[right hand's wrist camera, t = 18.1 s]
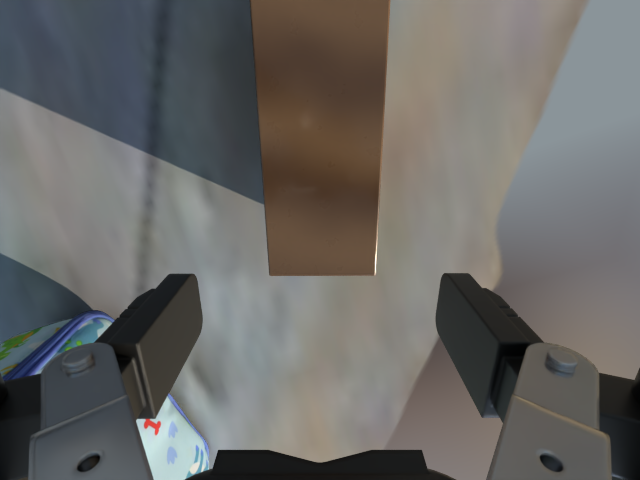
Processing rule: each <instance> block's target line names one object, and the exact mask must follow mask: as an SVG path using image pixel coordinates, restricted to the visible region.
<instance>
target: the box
mask: <svg viewBox="0 0 640 480" xmlns="http://www.w3.org/2000/svg"><path fill="white" fill-rule="evenodd" d="M250 12H251V26H252V40H253V54H254V68H255V81H256V95H257V109H258V123H259V137H260V151H261V165H262V179H263V193H264V207H265V221H266V235H267V249H268V263H269V275H270V276H374V275H375V274H376V257H377V239H378V220H379V201H380V183H381V164H382V145H383V127H384V108H385V89H386V71H387V52H388V33H389V15H390V0H250Z"/></svg>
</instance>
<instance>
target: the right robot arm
mask: <svg viewBox="0 0 640 480" xmlns="http://www.w3.org/2000/svg"><path fill="white" fill-rule="evenodd" d="M202 322H203V317H202V309H201V302H200V295H199V289H198V282H197V278H196V276H195V275H194V274H169V275H168V276H167V277H166V278H165V279H164V280H163V281H162V282H161V283H160V284H159V286H158V287H157V288H156V289H151V290H149V291H147V292H145V293H144V294H142V295H140V296H139V297H137V298H136V299H135V300H134V301H133V302H132V303H131V304H130V305H129V306H128V309H125V311H124V312H123V313H122V314H121V315H120V317H119V318H117V319H116V320H115V321H114V322H113V323H112V324H111V325H110V326H109V327H108V328H107V329H106V330H105V331H104V332H103V333H102V334H101V335H100V337H99V338H98V339H97V340H96V341H95V342H94V343H88V344H83V345H80V346H76V347H74V348H71V349H69V350H67V351H64V352H63V353H61V354H59V355H57V356H56V357H54V358H53V359H52V360H51V361H49V362H48V363H47V364H46V366H45V367H44V368H43V370H42V372H41V373H40V374H35V375H31V376H26V377H21V378H16V379H11V380H6V381H4V380H3V378H2V375H1V373H0V480H154V479H153V475H152V472H151V469H150V465H149V462H148V459H147V455H146V452H145V449H144V446H143V442H142V439H141V436H140V432H139V429H138V426H137V422H136V420H137V419H156V417H157V415H158V413H159V411H160V409H161V407H162V405H163V403H164V402H165V400H166V398H167V396H168V394H169V392H170V390H171V388H172V386H173V384H174V383H175V381H176V379H177V377H178V375H179V373H180V371H181V369H182V367H183V366H184V364H185V362H186V360H187V358H188V356H189V354H190V352H191V350H192V348H193V347H194V345H195V343H196V341H197V339H198V337H199V335H200V333H201V329H202ZM436 327H437V331H438V334H439V336H440V338H441V340H442V342H443V344H444V346H445V348H446V350H447V351H448V353H449V355H450V357H451V359H452V361H453V363H454V365H455V367H456V369H457V371H458V373H459V374H460V376H461V378H462V380H463V382H464V384H465V386H466V388H467V390H468V392H469V394H470V396H471V397H472V399H473V401H474V403H475V405H476V407H477V409H478V411H479V413H480V415H481V417H482V418H500V419H501V420H502V422H503V426H502V429H501V432H500V436H499V439H498V442H497V446H496V449H495V452H494V455H493V459H492V462H491V465H490V469H489V472H488V475H487V479H486V480H640V368H639V371H638V373H637V375H636V378H635V380H631V379H626V378H622V377H617V376H612V375H607V374H602V373H599V372H598V370H597V368H596V367H595V366H594V364H593V363H592V362H591V361H589V360H588V359H587V358H586V357H584V356H583V355H581V354H579V353H577V352H575V351H573V350H571V349H569V348H566V347H564V346H560V345H557V344H552V343H544V342H543V341H542V340H541V339H540V338H539V337H538V335H537V334H536V333H535V332H534V331H533V330H532V329H531V328H530V327H529V326H528V325H527V324H526V323H525V322H524V321H523V320H522V319H521V318H520V317H518V315H517V313H516V312H515V311H514V310H513V309H510V306H509V305H508V304H507V303H506V302H505V301H504V300H503V299H502V298H501V297H500V296H499V295H497V294H495V293H493V292H492V291H490V290H488V289H486V288H482V287H481V286H480V285H479V284H478V283H477V282H476V281H475V280H474V279H473V277H472V276H471V275H470V274H468V273H444V274H443V275H442V278H441V282H440V289H439V296H438V303H437V310H436ZM184 480H456V479H454V478H451V477H449V476H448V475H445V474H442V473H440V472H437V471H434V470H431V469H427V466H426V463H425V459H424V456H423V453H422V450H370V451H366V452H362V453H358V454H354V455H351V456H347V457H343V458H339V459H335V460H331V461H328V462H323V463H317V462H312V461H309V460H305V459H301V458H297V457H293V456H289V455H286V454H282V453H278V452H274V451H270V450H218V453H217V456H216V459H215V463H214V466H213V469H209V470H206V471H203V472H200V473H198V474H195V475H192V476H190V477H188V478H186V479H184Z"/></svg>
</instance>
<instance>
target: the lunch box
mask: <svg viewBox="0 0 640 480" xmlns="http://www.w3.org/2000/svg"><path fill="white" fill-rule="evenodd" d="M114 321H115V320H114V319H113V318H111V317H110V316H109V315H107V314H106V313H104V312H102V311H98V310H93V311H87V312H84V313H81V314H79V315H77V316H76V317H74V318H72V319H68V320H64V321H60V322H57V323H54V324H50V325H47V326H44V327H40V328H37V329H35V330H31V331H27V332H23V333H20V334H18V335H16V336H13V337H12V338H10V339H8V340H7V341H5V342H3V343H2V344H1V345H0V373H1V375H2V378H3V380H4V381H6V380H11V379H16V378H21V377H26V376H31V375H35V374H40V373H41V372H42V370H43V368H44V367H45V366H46V364H47V363H48V362H49V361H51V360H52V359H53V358H54V357H56V356H57V355H59V354H61V353H63V352H64V351H67V350H69V349H71V348H74V347H76V346H80V345H83V344H88V343H94V342H95V341H96V340H97V339H98V338H99V337H100V335H101V334H102V333H103V332H104V331H105V330H106V329H107V328H108V327H109V326H110V325H111V324H112V323H113V322H114ZM136 422H137V426H138V429H139V432H140V436H141V439H142V442H143V446H144V449H145V452H146V455H147V459H148V462H149V465H150V469H151V472H152V475H153V479H154V480H184V479H186V478H188V477H190V476H192V475H195V474H198V473H200V472H203V471H206V470H209V449H208V445H207V443H206V441H205V439H204V438H203V437H202V436H201V435H200V434H199V432H198V431H197V430H196V429H195V428H194V426H193V425H192V424H191V422H190V421H189V420H188V418H187V417H186V415H185V414H184V412H183V411H182V410H181V408H180V407H179V406H178V404H177V403H176V401H175V400H174V399H173V397H172V396H171V395H170V394H168V396H167V398H166V400H165V402H164V403H163V405H162V407H161V409H160V411H159V413H158V415H157V417H156V419H137V420H136Z"/></svg>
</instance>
